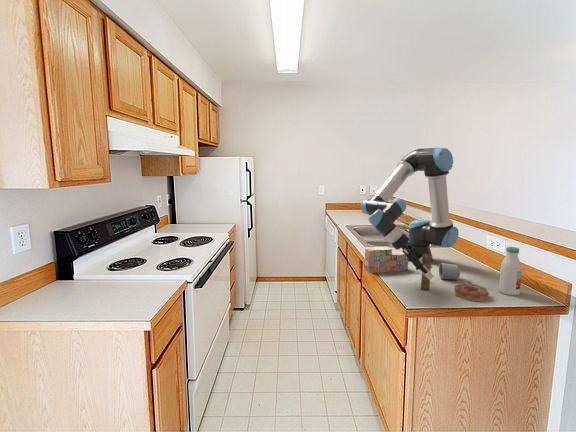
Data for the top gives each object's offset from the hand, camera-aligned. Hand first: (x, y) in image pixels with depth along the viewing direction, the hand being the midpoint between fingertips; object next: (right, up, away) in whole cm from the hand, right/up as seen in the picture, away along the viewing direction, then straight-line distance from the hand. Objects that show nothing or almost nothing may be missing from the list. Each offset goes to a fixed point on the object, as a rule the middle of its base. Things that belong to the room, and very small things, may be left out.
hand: (431, 273), depth 152 cm
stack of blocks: (-12, -4, +30) cm, 32 cm away
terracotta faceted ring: (+14, -8, -6) cm, 18 cm away
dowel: (-2, -8, +2) cm, 8 cm away
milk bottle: (+32, -8, -4) cm, 33 cm away
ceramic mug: (+15, -5, +16) cm, 23 cm away
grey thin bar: (+20, -7, +4) cm, 21 cm away
